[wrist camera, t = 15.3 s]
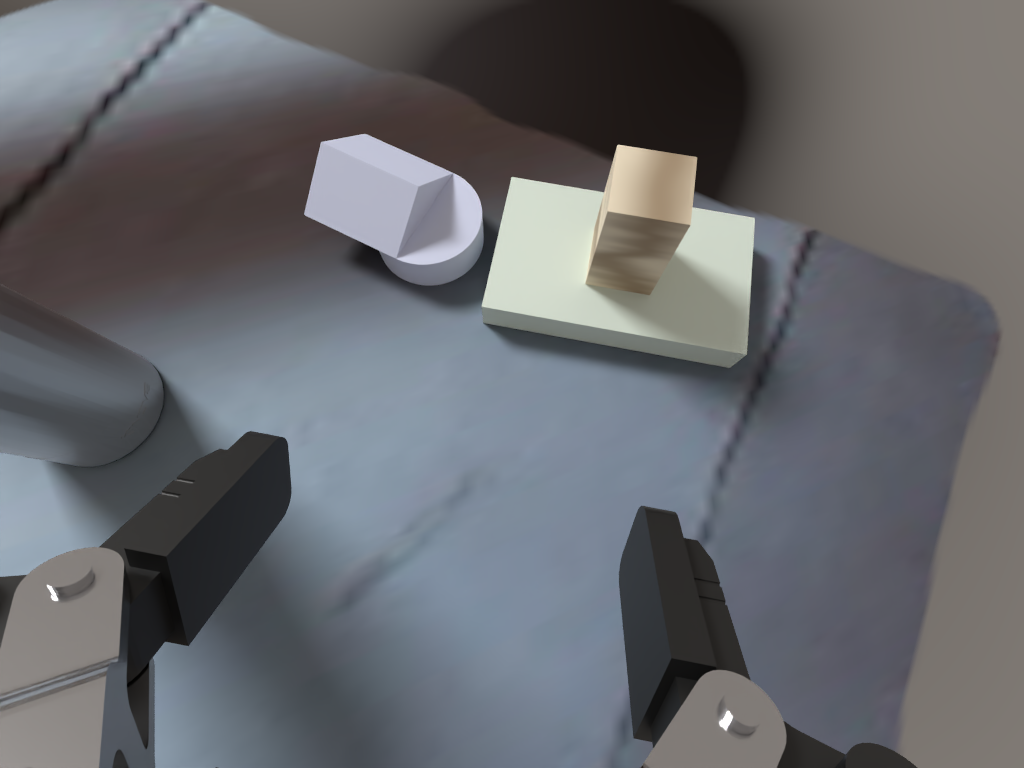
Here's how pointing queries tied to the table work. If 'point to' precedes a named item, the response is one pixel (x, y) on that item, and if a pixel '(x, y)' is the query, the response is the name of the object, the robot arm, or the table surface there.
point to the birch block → (641, 218)
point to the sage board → (609, 312)
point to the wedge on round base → (398, 208)
